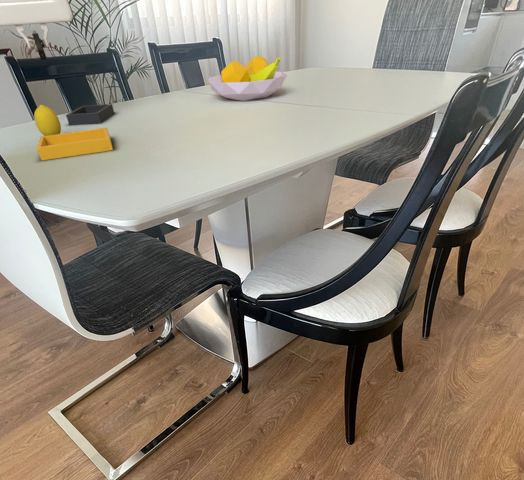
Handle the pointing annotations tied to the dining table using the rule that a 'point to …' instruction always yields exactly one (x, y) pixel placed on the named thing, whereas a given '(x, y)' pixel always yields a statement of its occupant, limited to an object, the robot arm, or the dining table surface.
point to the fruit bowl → (248, 80)
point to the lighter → (38, 46)
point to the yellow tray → (74, 144)
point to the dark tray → (90, 114)
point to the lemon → (47, 121)
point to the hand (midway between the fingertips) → (39, 48)
